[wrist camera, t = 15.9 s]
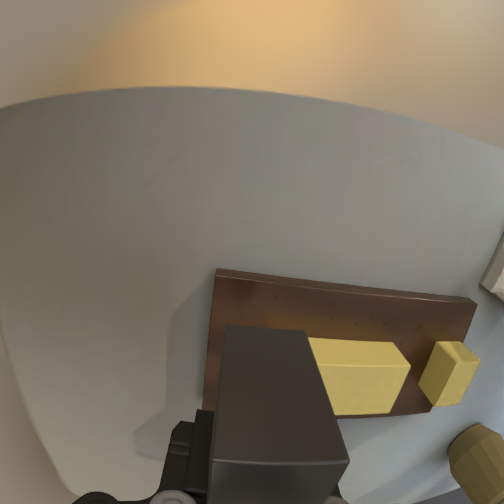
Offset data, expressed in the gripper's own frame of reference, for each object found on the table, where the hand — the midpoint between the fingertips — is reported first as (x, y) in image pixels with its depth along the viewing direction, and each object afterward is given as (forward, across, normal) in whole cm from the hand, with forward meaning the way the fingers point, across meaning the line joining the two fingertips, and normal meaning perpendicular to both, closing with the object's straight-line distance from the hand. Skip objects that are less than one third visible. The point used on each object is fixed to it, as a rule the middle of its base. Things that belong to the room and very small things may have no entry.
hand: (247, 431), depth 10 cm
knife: (0, 0, +5) cm, 5 cm away
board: (+13, -9, +4) cm, 16 cm away
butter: (+11, -7, +4) cm, 14 cm away
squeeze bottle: (+13, -31, +19) cm, 39 cm away
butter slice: (+11, -18, +4) cm, 21 cm away
